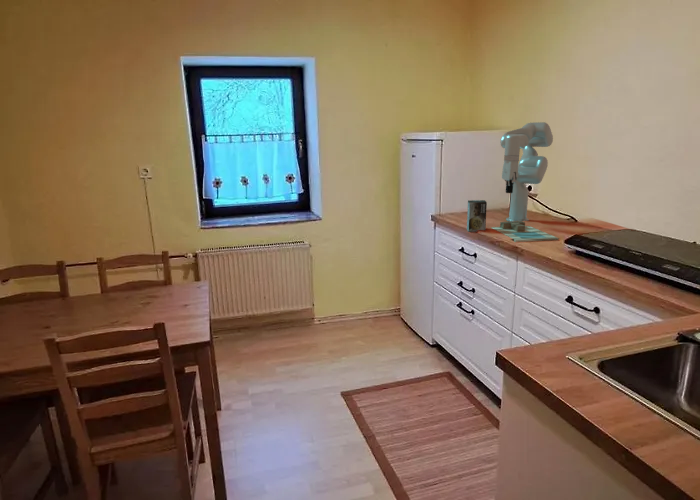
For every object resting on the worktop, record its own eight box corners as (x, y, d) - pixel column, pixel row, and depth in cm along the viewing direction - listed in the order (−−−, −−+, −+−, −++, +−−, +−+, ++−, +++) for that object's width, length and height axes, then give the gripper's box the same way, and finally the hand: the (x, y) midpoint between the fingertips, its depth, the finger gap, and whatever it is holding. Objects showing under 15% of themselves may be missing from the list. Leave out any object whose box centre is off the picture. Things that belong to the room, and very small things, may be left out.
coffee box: (483, 229, 246) (485, 200, 242) (485, 231, 240) (487, 201, 236) (466, 229, 247) (467, 200, 243) (468, 231, 241) (469, 201, 237)
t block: (500, 227, 245) (500, 222, 245) (521, 226, 247) (521, 221, 246) (509, 232, 234) (510, 226, 233) (531, 231, 235) (532, 225, 234)
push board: (490, 229, 246) (490, 227, 246) (528, 227, 248) (529, 225, 248) (515, 242, 217) (515, 239, 217) (558, 240, 219) (558, 238, 219)
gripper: (498, 158, 248) (496, 191, 253) (511, 159, 234) (508, 194, 239) (512, 157, 249) (509, 190, 254) (524, 159, 235) (522, 194, 239)
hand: (509, 192), depth 246 cm, fingers closed
